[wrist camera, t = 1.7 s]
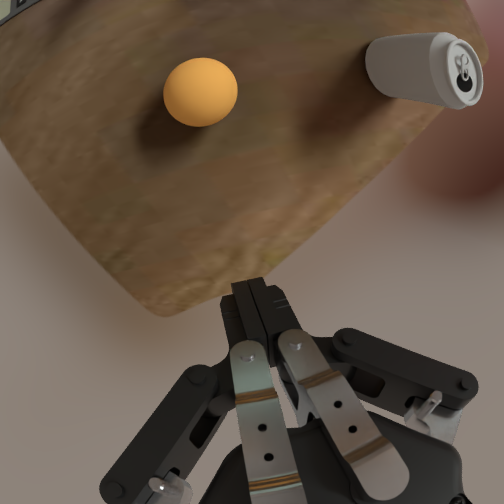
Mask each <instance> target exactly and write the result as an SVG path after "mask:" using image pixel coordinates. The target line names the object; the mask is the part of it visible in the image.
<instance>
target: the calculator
mask: <svg viewBox="0 0 504 504" xmlns="http://www.w3.org/2000/svg"><path fill="white" fill-rule="evenodd" d="M38 1H40V0H0V26H1V25H2V24H4V23H5V22H7V21H8V20H9V19H11V18H12V17H14V16H15V15H17V14H18V13H20V12H22V11H23V10H25V9H26V8H28V7H30V6H31V5H33V4H35V3H37V2H38Z"/></svg>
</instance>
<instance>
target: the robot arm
mask: <svg viewBox="0 0 504 504" xmlns="http://www.w3.org/2000/svg"><path fill="white" fill-rule="evenodd" d="M231 287H232V293H233V294H231V295H226V296H222V300H221V303H220V308H221V312H222V317H223V321H224V326H225V330H226V335H227V339H228V343H229V352H228V354H227V356H226V358H225V359H224V360H222V361H221V362H220V363H218V364H216V365H214V366H212V367H209V366H206V365H194V366H192V367H189V368H188V369H186V370H185V371H184V372H183V374H182V375H181V376H180V378H179V379H178V380H177V382H176V383H175V384H174V386H173V387H172V388H171V390H170V391H169V392H168V394H167V395H166V397H165V398H164V399H163V401H162V402H161V403H160V405H159V406H158V407H157V408H156V410H155V411H154V413H153V414H152V415H151V417H150V418H149V419H148V421H147V422H146V423H145V424H144V426H143V427H142V428H141V430H140V431H139V432H138V434H137V435H136V436H135V438H134V439H133V440H132V442H131V443H130V444H129V446H128V447H127V448H126V449H125V451H124V452H123V453H122V455H121V456H120V457H119V458H118V460H117V461H116V462H115V464H114V465H113V466H112V468H111V469H110V470H109V471H108V473H107V474H106V475H105V476H104V478H103V479H102V481H101V483H100V486H99V487H100V488H99V490H100V494H101V496H102V498H103V500H104V501H105V502H106V503H107V504H190V501H191V498H192V495H193V492H192V488H191V486H190V484H189V483H188V482H187V481H185V479H186V478H187V476H188V475H189V473H190V472H191V470H192V469H193V467H194V466H195V464H196V463H197V461H198V460H199V458H200V457H201V455H202V454H203V452H204V450H205V449H206V447H207V446H208V444H209V442H210V441H211V439H212V438H213V436H214V434H215V433H216V431H217V430H218V428H219V426H220V425H221V423H222V421H223V420H224V418H225V416H226V415H227V412H228V411H230V410H232V409H233V408H235V407H236V411H237V417H238V424H239V430H240V436H241V441H242V444H240V445H239V446H237V447H236V448H234V449H233V450H232V451H231V452H230V453H229V454H228V455H227V456H226V457H225V459H224V460H223V462H222V464H221V466H220V467H219V469H218V471H217V473H216V474H215V476H214V478H213V480H212V482H211V483H210V485H209V487H208V488H207V490H206V492H205V494H204V495H203V497H202V499H201V500H200V502H199V504H472V503H471V502H470V501H469V500H468V498H467V497H466V496H465V494H464V491H463V485H462V461H461V457H460V455H459V453H458V451H457V450H456V449H455V448H454V447H453V446H452V444H453V441H454V438H455V435H456V432H457V428H458V425H459V421H460V418H461V414H462V410H463V408H464V407H465V406H466V405H467V404H468V403H469V402H470V401H471V400H472V398H473V397H475V395H476V394H477V392H478V381H477V380H476V378H475V376H474V375H473V374H471V373H469V372H467V371H465V370H462V369H459V368H456V367H453V366H450V365H448V364H445V363H442V362H439V361H437V360H434V359H431V358H429V357H426V356H423V355H421V354H418V353H415V352H412V351H410V350H407V349H405V348H402V347H399V346H397V345H394V344H392V343H389V342H387V341H384V340H381V339H379V338H376V337H374V336H371V335H369V334H366V333H364V332H361V331H359V330H356V329H353V328H343V329H340V330H338V331H337V332H336V333H335V334H334V336H333V337H314V336H311V335H309V334H308V333H307V332H305V331H303V329H302V328H301V326H300V324H299V322H298V320H297V318H296V316H295V314H294V312H293V310H292V309H291V306H290V305H289V302H288V300H287V299H286V296H285V294H284V292H283V291H282V290H281V289H280V288H279V287H277V286H276V285H272V286H266V284H265V282H264V279H263V278H262V277H259V278H254V279H249V280H247V281H246V280H245V281H240V282H235V283H231ZM268 362H269V363H268ZM269 365H270V367H275V366H276V367H277V370H278V372H279V381H280V383H281V385H282V388H283V390H284V392H285V394H286V396H287V398H288V400H289V402H290V404H291V406H292V408H293V410H294V413H295V415H296V419H297V423H298V426H299V427H298V428H286V425H285V421H284V417H283V413H282V409H281V406H280V402H279V398H278V395H277V392H276V391H275V388H274V385H273V381H272V377H271V373H270V369H269ZM359 399H361V400H363V401H365V402H368V403H370V404H373V405H375V406H377V407H380V408H382V409H384V410H387V411H389V412H392V413H394V414H397V415H400V416H402V417H404V421H405V424H406V426H404V425H401V424H399V423H396V422H394V421H392V420H390V419H388V418H385V417H383V416H381V415H379V414H376V413H374V412H371V411H366V410H365V408H364V407H363V405H362V403H361V402H360V400H359Z"/></svg>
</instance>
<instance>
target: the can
mask: <svg viewBox="0 0 504 504" xmlns="http://www.w3.org/2000/svg"><path fill="white" fill-rule="evenodd" d="M365 62H366V70H367V72H368V75H369V78H370V80H371V81H372V83H373V84H374V86H375V87H376V88H377V89H378V90H379V91H380V92H381V93H383V94H385V95H387V96H389V97H395V98H402V99H408V100H414V101H420V102H425V103H430V104H435V105H440V106H444V107H448V108H453V109H462V108H464V107H466V106H467V105H468V106H472V105H474V104H476V103H477V101H478V100H479V99H480V96H481V93H482V89H483V73H482V68H481V64H480V62H479V59H478V57H477V55H476V53H475V51H474V50H473V48H472V47H471V46H470V45H469V44H468V43H467V42H466V41H463V40H461V39H457V38H456V37H455V36H454V35H452V34H449V33H447V32H440V33H419V34H406V35H397V36H388V37H382V38H377V39H375V40H374V41H373V42H371V43H370V45H369V47H368V49H367V51H366V57H365Z"/></svg>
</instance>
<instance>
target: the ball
mask: <svg viewBox="0 0 504 504" xmlns="http://www.w3.org/2000/svg"><path fill="white" fill-rule="evenodd" d="M163 96H164V102H165V105H166V108H167V110H168V111H169V113H170V114H171V115H172V116H173V117H174V118H175V119H176V120H178V121H179V122H181V123H183V124H186V125H189V126H195V127H201V126H208V125H211V124H214V123H216V122H218V121H220V120H221V119H223V118H224V117H225V116H226V115H227V114H228V113H229V112H230V111H231V109H232V108H233V106H234V104H235V102H236V98H237V83H236V80H235V77H234V75H233V74H232V72H231V71H230V70H229V69H228V67H226V66H225V65H224V64H222V63H221V62H219V61H216V60H213V59H209V58H195V59H191V60H188V61H186V62H184V63H182V64H180V65H179V66H177V67H176V68H175V69H174V70H173V71H172V72H171V74H170V75H169V76H168V78H167V80H166V83H165V86H164V92H163Z"/></svg>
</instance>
